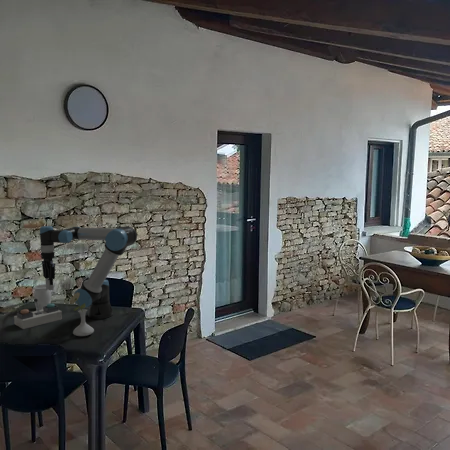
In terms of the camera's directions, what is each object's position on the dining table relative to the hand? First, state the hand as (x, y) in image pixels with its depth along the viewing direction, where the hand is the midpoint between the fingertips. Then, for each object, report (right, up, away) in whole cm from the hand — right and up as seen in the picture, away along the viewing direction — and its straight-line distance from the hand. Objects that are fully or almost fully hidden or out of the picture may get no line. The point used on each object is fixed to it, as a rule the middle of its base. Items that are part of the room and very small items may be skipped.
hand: (49, 289), depth 289 cm
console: (-5, -19, -3) cm, 20 cm away
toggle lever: (-6, -13, -4) cm, 15 cm away
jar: (-12, -16, +23) cm, 30 cm away
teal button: (0, -11, +2) cm, 12 cm away
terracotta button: (-11, -13, -10) cm, 20 cm away
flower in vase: (+28, -22, -25) cm, 43 cm away
